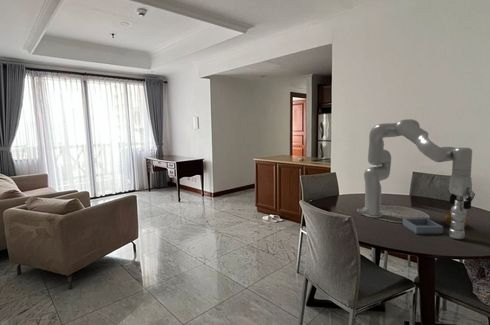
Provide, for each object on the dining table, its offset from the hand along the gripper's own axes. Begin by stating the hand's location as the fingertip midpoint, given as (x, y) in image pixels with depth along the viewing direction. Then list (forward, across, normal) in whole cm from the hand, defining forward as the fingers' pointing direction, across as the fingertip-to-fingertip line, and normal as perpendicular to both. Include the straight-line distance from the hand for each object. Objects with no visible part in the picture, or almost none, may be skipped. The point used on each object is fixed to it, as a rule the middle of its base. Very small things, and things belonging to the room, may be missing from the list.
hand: (459, 206), depth 144 cm
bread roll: (+17, -19, +11) cm, 28 cm away
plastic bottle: (+17, -1, 0) cm, 17 cm away
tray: (+17, -14, -10) cm, 24 cm away
